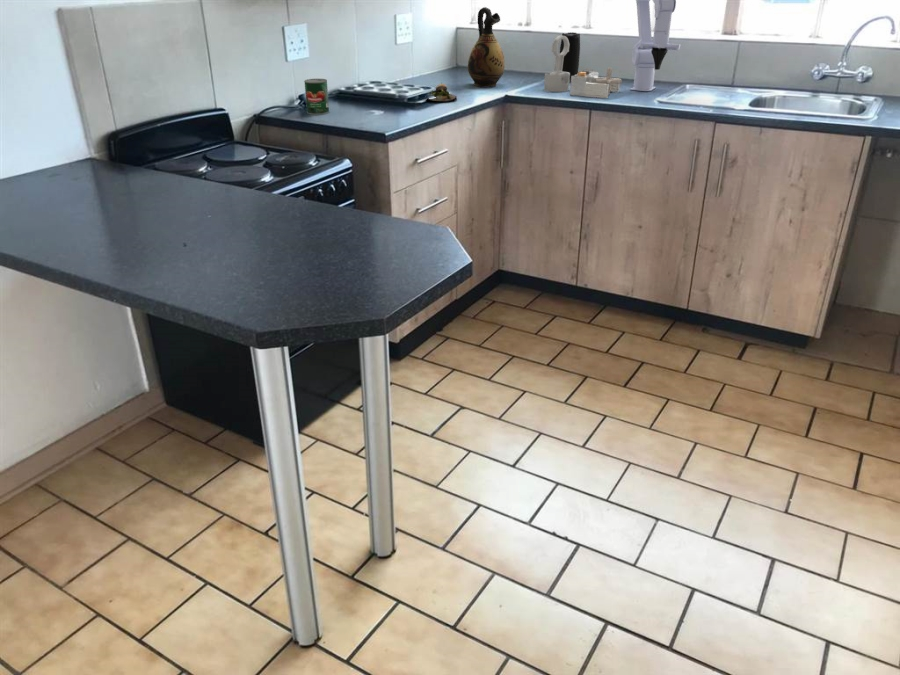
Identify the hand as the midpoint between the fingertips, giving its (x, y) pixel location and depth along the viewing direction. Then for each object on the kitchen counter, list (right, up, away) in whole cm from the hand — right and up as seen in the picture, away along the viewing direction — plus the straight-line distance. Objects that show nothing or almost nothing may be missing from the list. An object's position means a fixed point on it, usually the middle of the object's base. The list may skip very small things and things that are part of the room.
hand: (657, 69), depth 285 cm
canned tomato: (-127, -23, -20) cm, 130 cm away
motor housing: (-22, -6, +10) cm, 25 cm away
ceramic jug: (-65, +4, +29) cm, 71 cm away
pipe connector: (-18, -8, +7) cm, 21 cm away
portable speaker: (-28, +9, +38) cm, 48 cm away
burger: (-83, -13, 0) cm, 84 cm away
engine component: (-36, -2, +19) cm, 40 cm away
